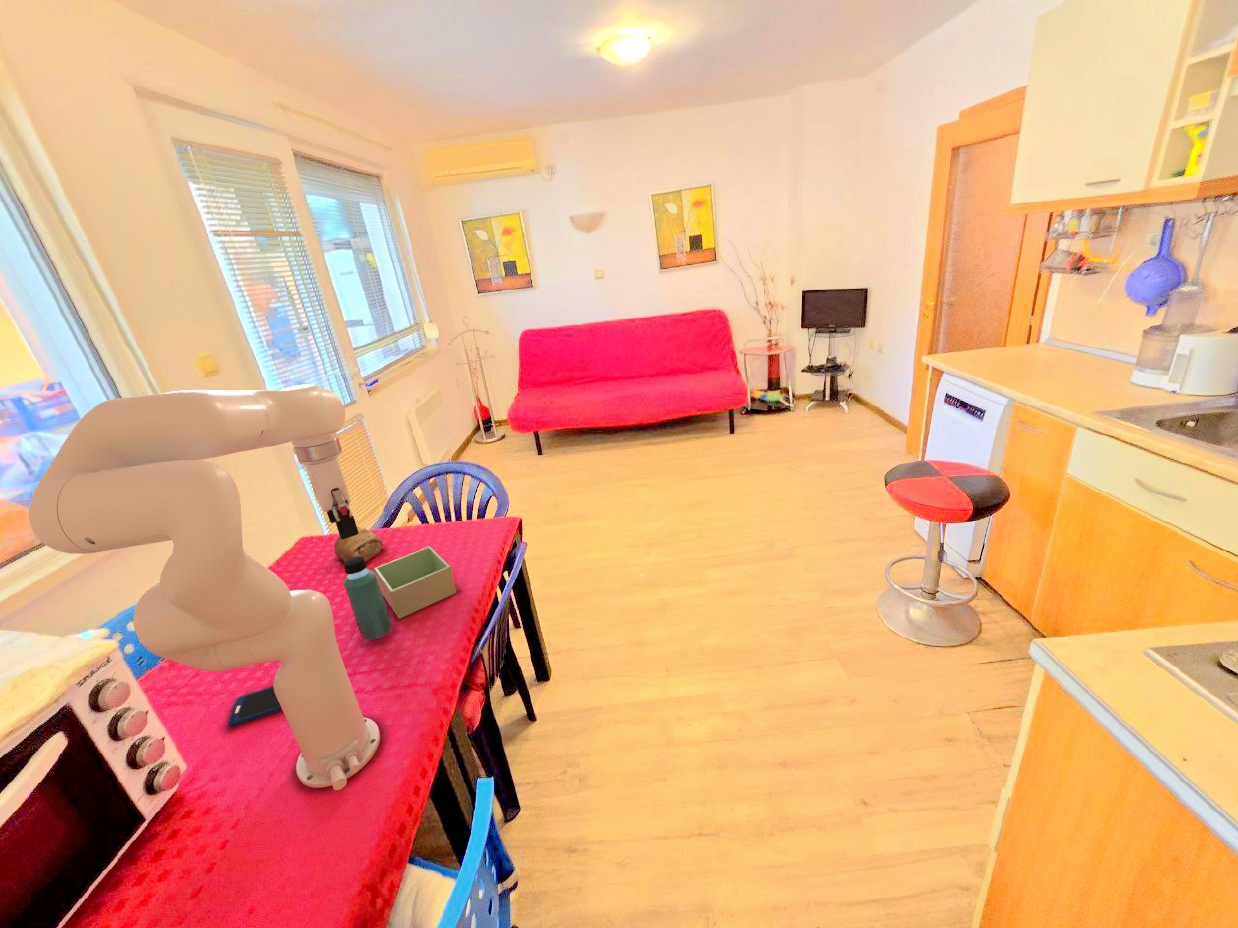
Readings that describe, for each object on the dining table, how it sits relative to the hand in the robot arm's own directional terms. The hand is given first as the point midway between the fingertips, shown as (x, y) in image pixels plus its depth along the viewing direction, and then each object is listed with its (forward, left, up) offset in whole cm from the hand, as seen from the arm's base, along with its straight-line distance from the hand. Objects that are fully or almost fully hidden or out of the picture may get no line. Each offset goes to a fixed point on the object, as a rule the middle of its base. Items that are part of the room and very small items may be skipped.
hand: (344, 528), depth 103 cm
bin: (+10, -12, -27) cm, 32 cm away
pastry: (+43, -6, -28) cm, 51 cm away
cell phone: (-5, +21, -27) cm, 35 cm away
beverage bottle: (0, 0, -28) cm, 28 cm away
